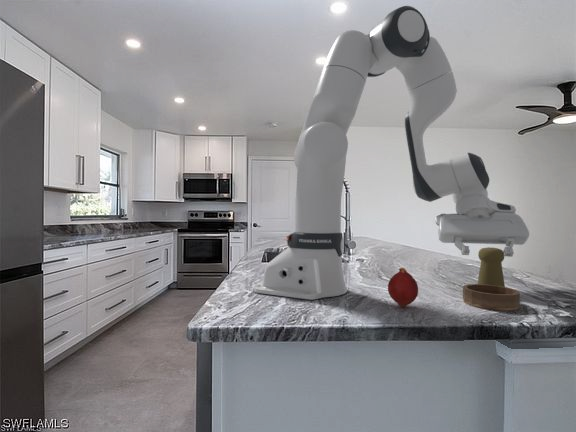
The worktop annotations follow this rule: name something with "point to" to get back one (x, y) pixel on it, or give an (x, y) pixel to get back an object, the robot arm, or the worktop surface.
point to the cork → (491, 267)
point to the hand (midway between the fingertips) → (487, 254)
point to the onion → (403, 288)
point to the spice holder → (491, 297)
